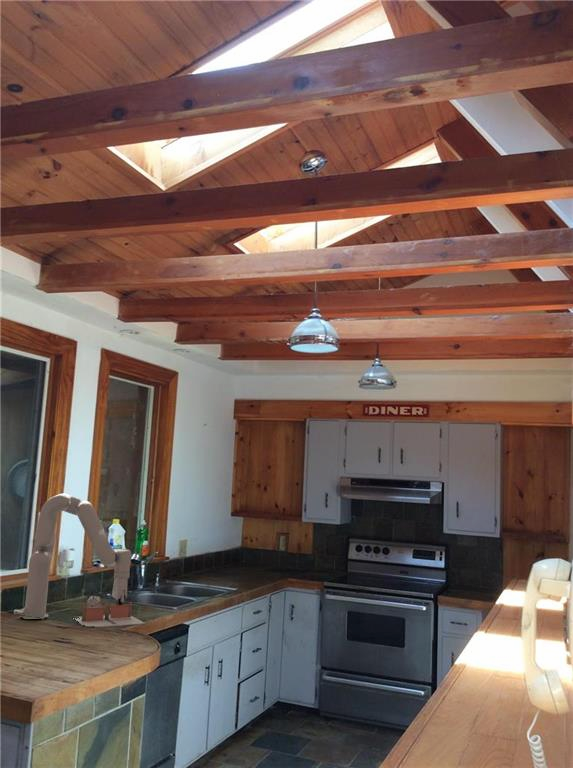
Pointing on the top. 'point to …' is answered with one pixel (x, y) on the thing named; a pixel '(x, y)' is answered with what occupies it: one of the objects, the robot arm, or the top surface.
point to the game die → (94, 601)
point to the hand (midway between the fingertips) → (118, 613)
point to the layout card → (110, 622)
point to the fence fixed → (95, 613)
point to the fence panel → (121, 611)
